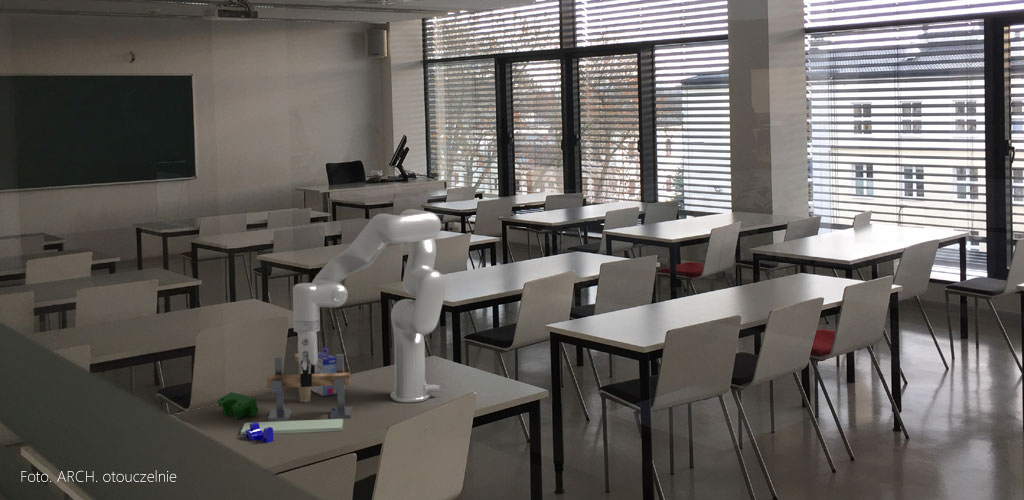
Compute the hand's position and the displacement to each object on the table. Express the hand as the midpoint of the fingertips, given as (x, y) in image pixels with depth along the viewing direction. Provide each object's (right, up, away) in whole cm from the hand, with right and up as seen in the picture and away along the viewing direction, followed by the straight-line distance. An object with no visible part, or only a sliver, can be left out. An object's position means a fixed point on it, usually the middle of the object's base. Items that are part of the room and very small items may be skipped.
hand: (307, 382), depth 279 cm
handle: (-5, -9, +18) cm, 21 cm away
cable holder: (-10, -14, -17) cm, 24 cm away
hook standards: (0, -11, +3) cm, 11 cm away
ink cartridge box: (-1, -7, +29) cm, 30 cm away
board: (-2, -12, -8) cm, 15 cm away
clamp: (-22, -11, +4) cm, 25 cm away
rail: (0, -1, 0) cm, 1 cm away
